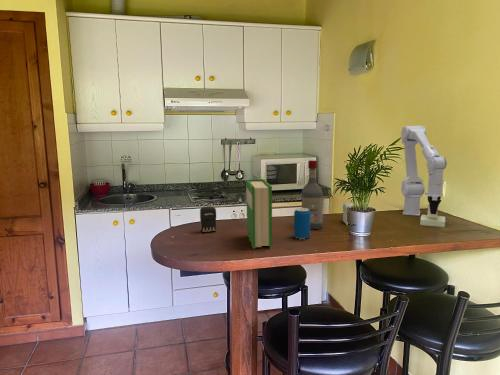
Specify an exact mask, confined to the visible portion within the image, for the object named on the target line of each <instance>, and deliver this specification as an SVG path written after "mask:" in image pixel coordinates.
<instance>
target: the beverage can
mask: <svg viewBox="0 0 500 375" xmlns="http://www.w3.org/2000/svg"><path fill="white" fill-rule="evenodd" d="M293 219H294V220H293V230H294V231H293V236H294V237H295V239H297V238H300V239H299V240H302V239H303V240H306V239H305V238H308V239H309V238H310V237H311V230H310V211H309V209H308V208H302V207H296V208H295V209H294V211H293Z"/></svg>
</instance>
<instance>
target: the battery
mask: <svg viewBox="0 0 500 375" xmlns="http://www.w3.org/2000/svg"><path fill="white" fill-rule="evenodd" d="M199 220H200V231H201V230H204V229H205V230H206V229H207V230H214V229H215V230H216V231H217V208H216V207H215V206H214V205H205V206H201V207H200V209H199Z"/></svg>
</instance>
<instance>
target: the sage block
mask: <svg viewBox="0 0 500 375" xmlns="http://www.w3.org/2000/svg"><path fill="white" fill-rule="evenodd" d="M419 222H420V224H419V225H420V226H427V227H428V226H429V227H437V228H439V227H440V228H445V227H446V216H441V215H437V218H435V217H427V214H420V221H419Z"/></svg>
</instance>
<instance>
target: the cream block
mask: <svg viewBox="0 0 500 375" xmlns="http://www.w3.org/2000/svg"><path fill="white" fill-rule="evenodd" d="M438 210H439V209H437V213H436V214H431V212H430V205H429V203H428V204H427V214H426V215H427V217H435V218H437V216H438V213H439V212H438Z"/></svg>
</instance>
